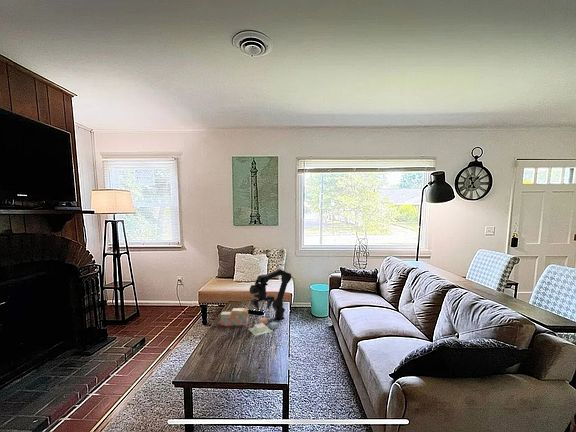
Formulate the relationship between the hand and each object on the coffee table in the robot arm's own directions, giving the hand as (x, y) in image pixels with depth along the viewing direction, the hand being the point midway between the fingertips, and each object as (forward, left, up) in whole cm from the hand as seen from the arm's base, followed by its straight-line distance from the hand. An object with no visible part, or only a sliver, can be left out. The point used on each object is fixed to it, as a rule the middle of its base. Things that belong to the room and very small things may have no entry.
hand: (263, 310), depth 222 cm
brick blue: (-3, +12, -11) cm, 17 cm away
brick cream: (+8, +10, -10) cm, 16 cm away
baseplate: (+8, +10, -11) cm, 17 cm away
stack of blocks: (+20, -12, -11) cm, 26 cm away
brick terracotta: (0, 0, -11) cm, 11 cm away
